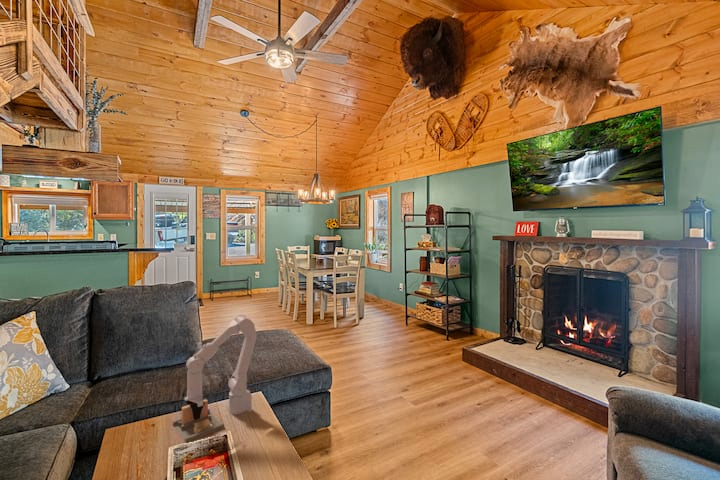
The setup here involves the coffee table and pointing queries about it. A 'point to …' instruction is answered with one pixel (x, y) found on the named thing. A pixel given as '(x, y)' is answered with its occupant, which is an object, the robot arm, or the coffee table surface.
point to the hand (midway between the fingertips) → (194, 416)
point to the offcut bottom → (203, 429)
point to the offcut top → (202, 425)
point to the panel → (188, 414)
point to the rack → (188, 429)
